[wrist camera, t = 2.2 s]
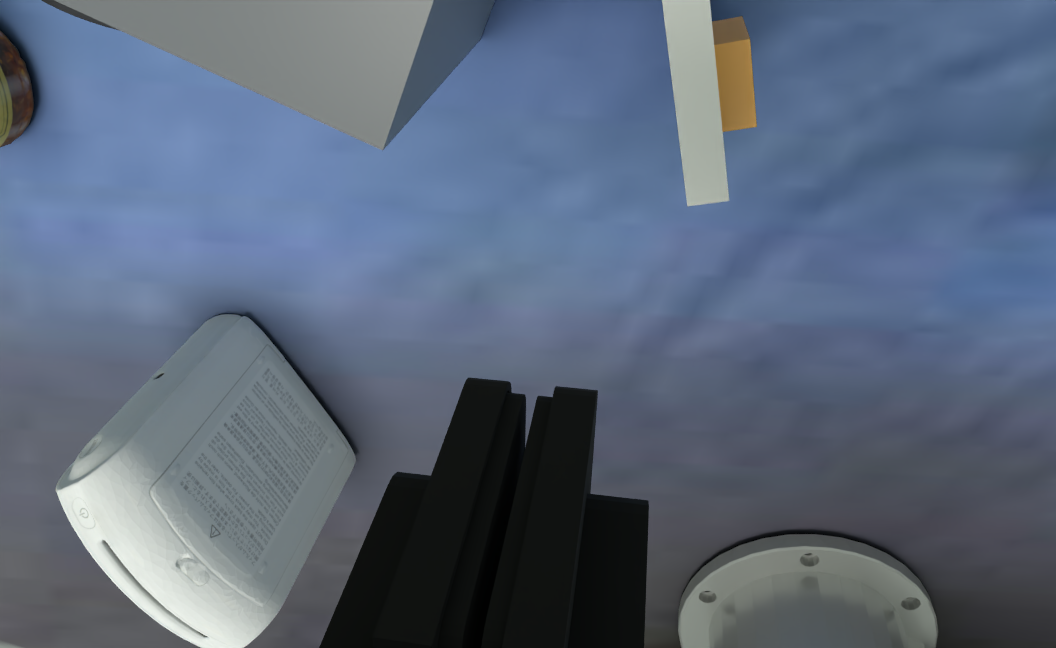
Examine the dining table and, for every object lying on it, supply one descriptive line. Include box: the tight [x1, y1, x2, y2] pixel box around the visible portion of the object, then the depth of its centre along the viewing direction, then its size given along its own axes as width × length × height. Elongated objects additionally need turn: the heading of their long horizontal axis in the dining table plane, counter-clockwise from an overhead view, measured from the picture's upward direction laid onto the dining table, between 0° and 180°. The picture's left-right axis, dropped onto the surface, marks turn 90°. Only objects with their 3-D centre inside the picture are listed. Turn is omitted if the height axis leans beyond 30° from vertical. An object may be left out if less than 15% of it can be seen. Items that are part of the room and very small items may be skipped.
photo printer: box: [56, 314, 356, 648], centre depth 36 cm, size 10×4×12 cm, turn 30°
